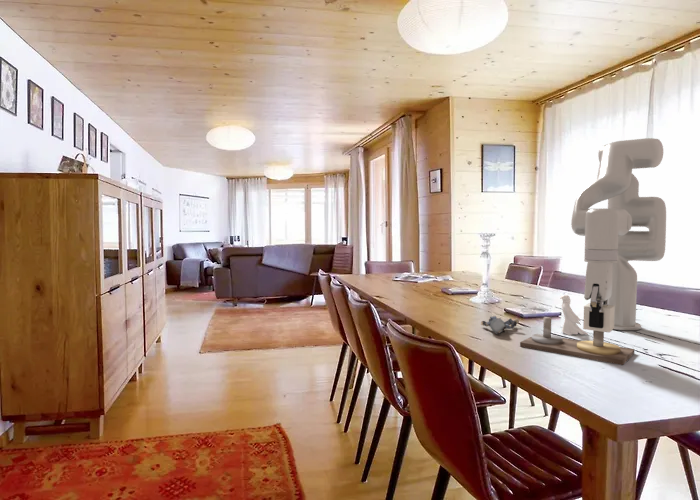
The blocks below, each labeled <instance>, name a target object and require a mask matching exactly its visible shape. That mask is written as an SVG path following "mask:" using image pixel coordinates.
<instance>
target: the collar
mask: <svg viewBox="0 0 700 500" xmlns="http://www.w3.org/2000/svg"><path fill="white" fill-rule="evenodd" d="M599 306H600V305H599ZM589 311H590V302H589V303H587V304H586V305H584V306H583V327H582V328H583V329H582V330H586V331H587V330H588V331H593V330H594V331H602V332H604V333H611V332H612V331H613V330H615V329H614V311H615V306H613V305H603V310H602V312H603V313H604V321H603V328H594V327H590V326H589Z"/></svg>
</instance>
